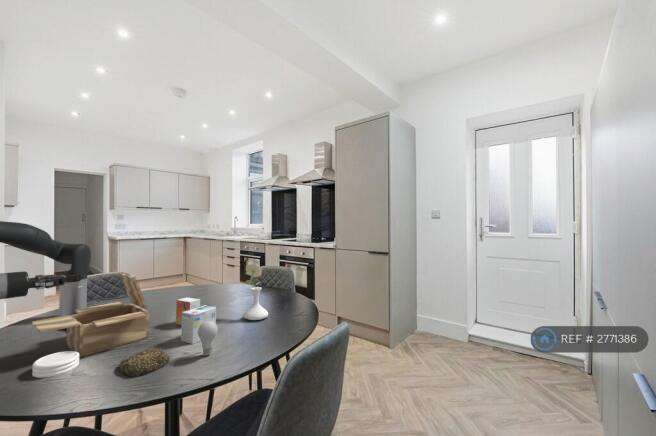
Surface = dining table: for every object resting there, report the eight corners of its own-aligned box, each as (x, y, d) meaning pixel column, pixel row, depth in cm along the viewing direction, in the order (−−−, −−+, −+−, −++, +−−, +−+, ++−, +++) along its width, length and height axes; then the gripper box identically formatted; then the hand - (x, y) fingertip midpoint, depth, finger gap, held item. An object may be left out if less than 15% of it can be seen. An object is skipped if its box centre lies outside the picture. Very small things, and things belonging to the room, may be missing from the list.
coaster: (23, 382, 77) (24, 368, 77) (42, 365, 86) (43, 353, 86) (71, 374, 81) (71, 362, 81) (84, 359, 90) (84, 348, 90)
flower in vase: (273, 317, 133) (274, 263, 134) (255, 324, 124) (256, 266, 124) (253, 312, 140) (254, 261, 141) (235, 318, 131) (236, 263, 131)
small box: (175, 324, 122) (176, 299, 122) (186, 320, 127) (186, 296, 127) (189, 327, 119) (189, 301, 119) (199, 323, 124) (200, 298, 124)
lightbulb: (204, 361, 90) (205, 325, 90) (193, 356, 93) (194, 322, 93) (221, 353, 95) (221, 320, 95) (209, 349, 98) (210, 317, 98)
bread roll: (127, 382, 78) (128, 363, 78) (115, 366, 86) (115, 350, 86) (176, 365, 88) (177, 348, 88) (161, 352, 96) (162, 337, 96)
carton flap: (131, 302, 115) (119, 273, 112) (133, 301, 116) (121, 272, 113) (145, 309, 107) (133, 278, 104) (147, 307, 108) (135, 277, 104)
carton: (27, 349, 96) (28, 317, 96) (126, 325, 119) (127, 300, 120) (42, 374, 81) (44, 336, 81) (154, 341, 104) (155, 312, 104)
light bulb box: (204, 331, 114) (204, 304, 115) (216, 334, 111) (217, 306, 112) (180, 341, 105) (180, 311, 105) (192, 344, 102) (193, 314, 102)
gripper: (7, 275, 80) (86, 268, 93) (1, 270, 87) (75, 264, 101) (6, 302, 79) (85, 291, 93) (0, 295, 87) (74, 285, 101)
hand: (80, 277), depth 97 cm, fingers closed
